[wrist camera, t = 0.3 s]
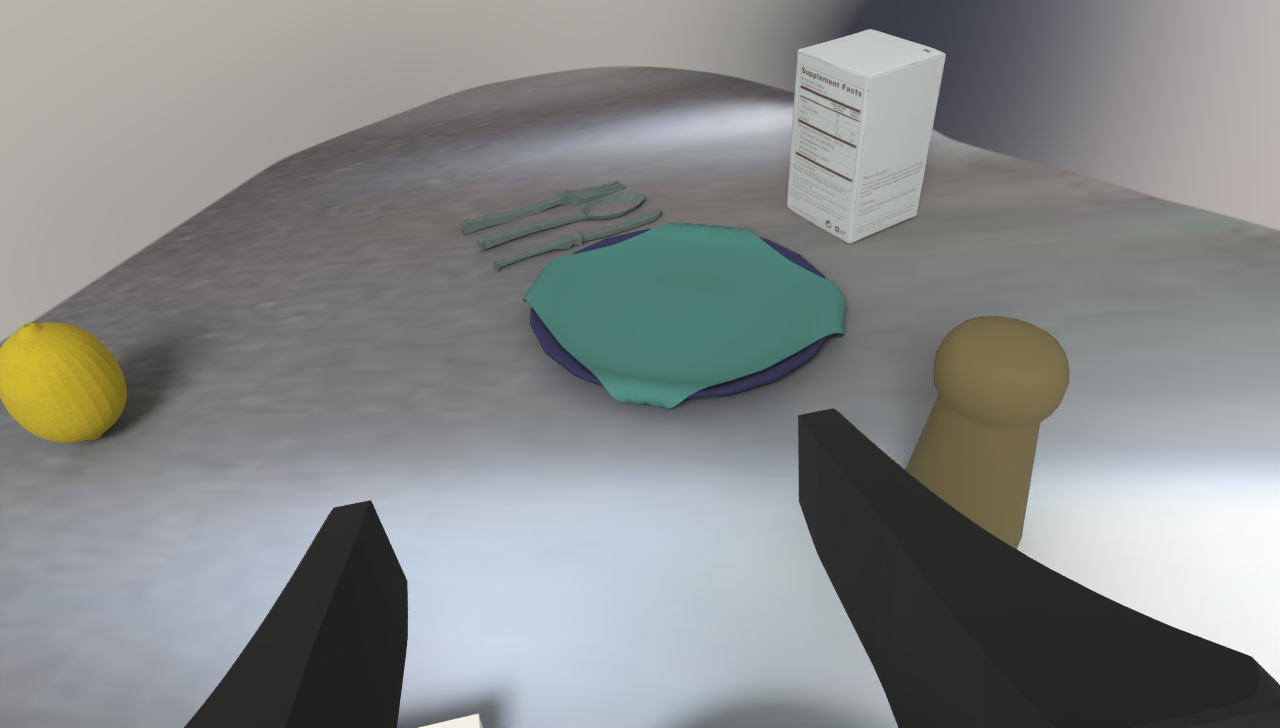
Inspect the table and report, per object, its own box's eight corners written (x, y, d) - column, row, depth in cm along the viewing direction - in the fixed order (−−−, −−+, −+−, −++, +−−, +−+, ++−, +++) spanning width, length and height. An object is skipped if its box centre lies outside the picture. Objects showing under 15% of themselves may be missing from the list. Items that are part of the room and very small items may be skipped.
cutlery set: (627, 469, 44) (625, 437, 42) (437, 243, 64) (431, 217, 63) (900, 345, 51) (905, 315, 50) (651, 179, 72) (650, 155, 71)
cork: (877, 541, 39) (917, 361, 32) (906, 459, 43) (946, 284, 36) (1012, 586, 37) (1086, 403, 30) (1028, 494, 41) (1096, 315, 34)
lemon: (169, 409, 49) (109, 299, 44) (106, 477, 44) (31, 362, 39) (89, 401, 50) (21, 292, 45) (19, 466, 45) (-64, 353, 40)
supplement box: (851, 183, 68) (872, 26, 60) (919, 218, 63) (951, 51, 55) (782, 208, 65) (794, 46, 57) (847, 246, 60) (870, 75, 52)
